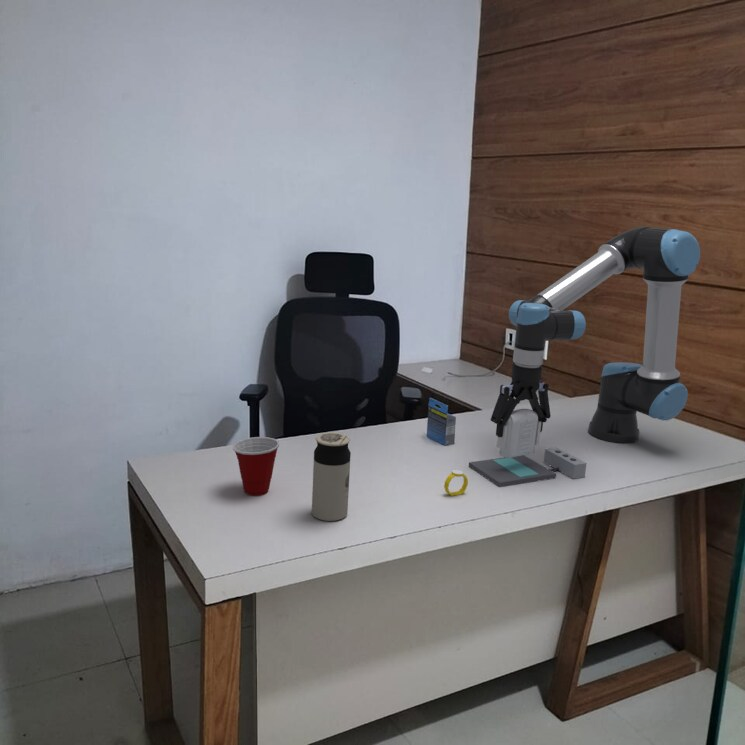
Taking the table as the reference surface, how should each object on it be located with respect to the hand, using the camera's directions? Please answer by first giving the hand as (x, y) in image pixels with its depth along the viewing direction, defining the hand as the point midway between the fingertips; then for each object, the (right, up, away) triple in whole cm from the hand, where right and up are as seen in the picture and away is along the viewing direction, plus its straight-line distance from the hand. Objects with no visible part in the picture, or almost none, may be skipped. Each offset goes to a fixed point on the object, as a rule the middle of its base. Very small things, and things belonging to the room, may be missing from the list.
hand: (517, 446), depth 187 cm
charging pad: (-1, -7, +1) cm, 7 cm away
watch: (-18, -10, -14) cm, 25 cm away
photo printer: (0, -2, +1) cm, 2 cm away
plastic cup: (-66, -9, -19) cm, 69 cm away
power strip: (+11, -7, +4) cm, 14 cm away
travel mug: (-48, -12, -28) cm, 57 cm away
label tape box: (-18, -1, +22) cm, 29 cm away
